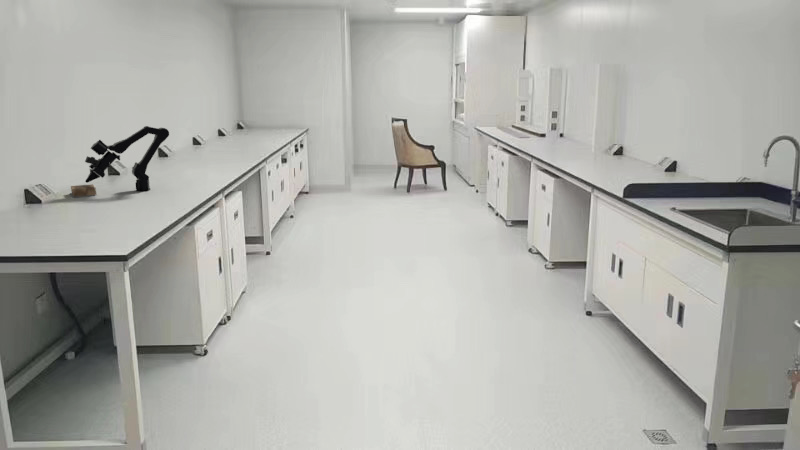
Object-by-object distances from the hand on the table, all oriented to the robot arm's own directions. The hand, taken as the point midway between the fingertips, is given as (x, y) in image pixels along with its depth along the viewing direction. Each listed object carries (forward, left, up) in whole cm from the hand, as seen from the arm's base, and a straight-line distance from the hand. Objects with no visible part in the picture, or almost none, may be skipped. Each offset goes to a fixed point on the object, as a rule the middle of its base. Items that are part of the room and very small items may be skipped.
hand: (86, 182), depth 339 cm
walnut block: (-4, -2, -4) cm, 6 cm away
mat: (+2, +1, -7) cm, 7 cm away
